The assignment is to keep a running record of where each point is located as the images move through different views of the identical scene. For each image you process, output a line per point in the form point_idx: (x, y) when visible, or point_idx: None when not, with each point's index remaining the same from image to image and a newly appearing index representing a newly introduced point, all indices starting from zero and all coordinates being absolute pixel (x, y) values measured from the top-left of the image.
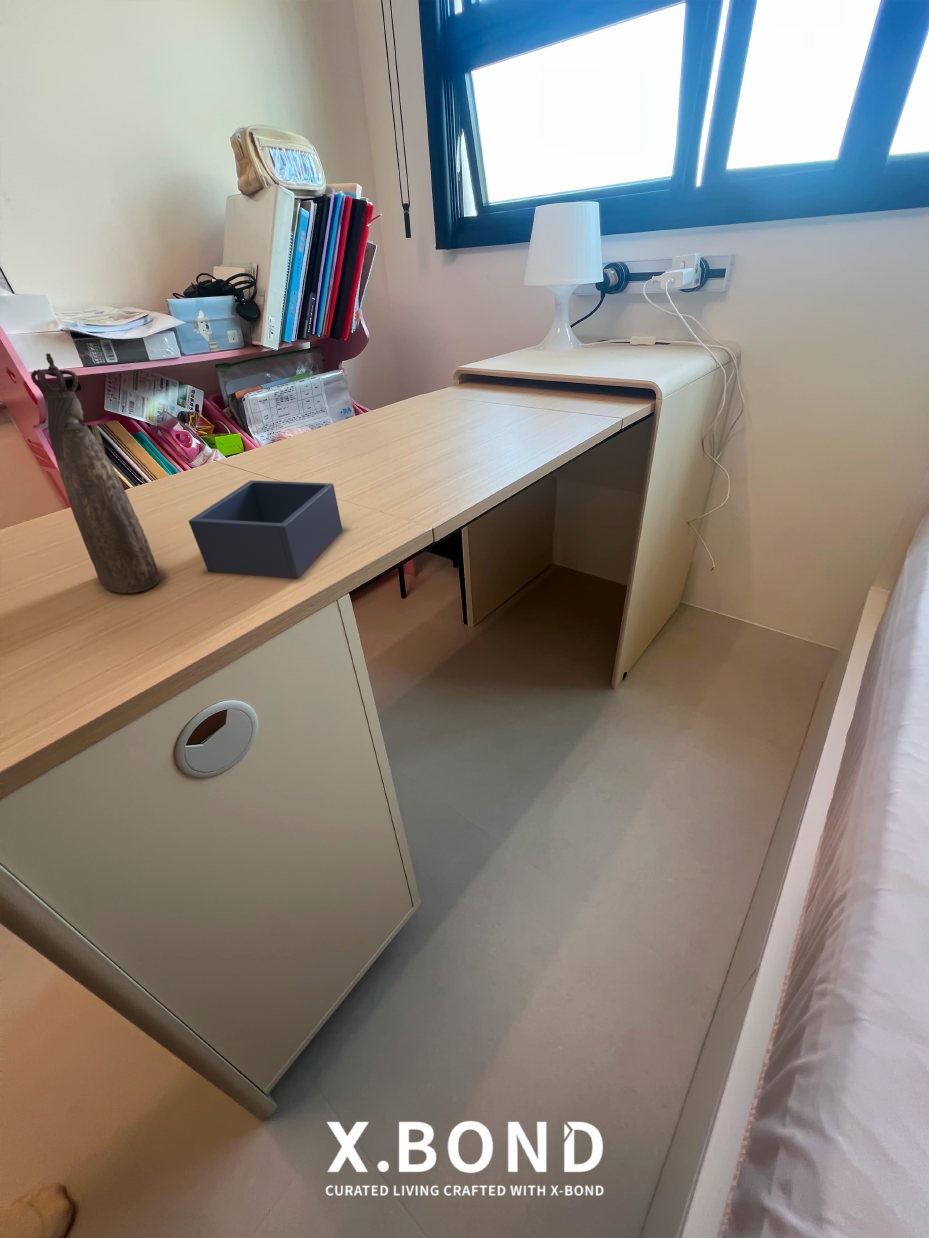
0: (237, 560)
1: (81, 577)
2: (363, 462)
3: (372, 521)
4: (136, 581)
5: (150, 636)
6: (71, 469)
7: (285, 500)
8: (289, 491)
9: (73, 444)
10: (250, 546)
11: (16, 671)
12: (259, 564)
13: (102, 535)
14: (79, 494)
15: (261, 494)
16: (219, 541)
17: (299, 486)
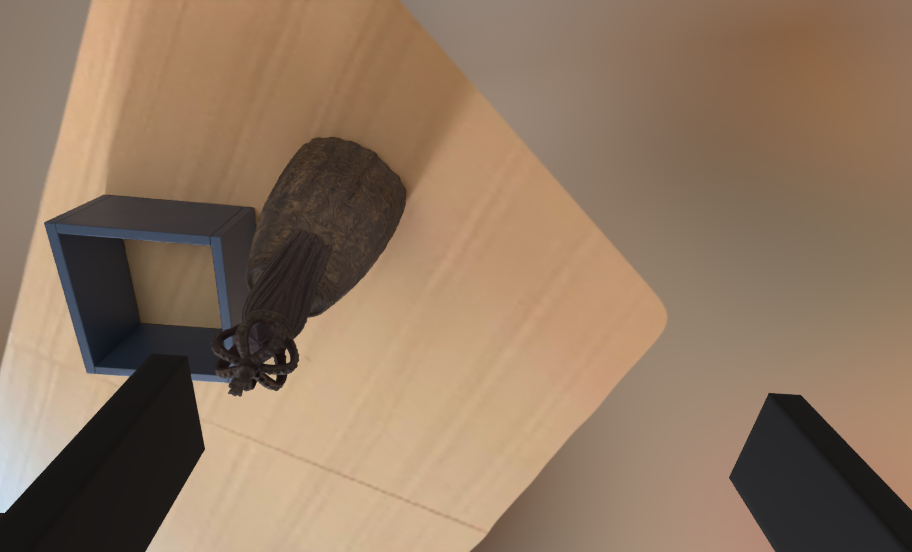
0: (184, 209)
1: (440, 184)
2: (247, 533)
3: None
4: (302, 148)
5: (208, 35)
6: (287, 217)
7: (188, 355)
8: None
9: (258, 246)
10: (139, 215)
11: None
12: (150, 204)
13: (300, 166)
14: (297, 195)
15: None
16: (190, 221)
17: None
